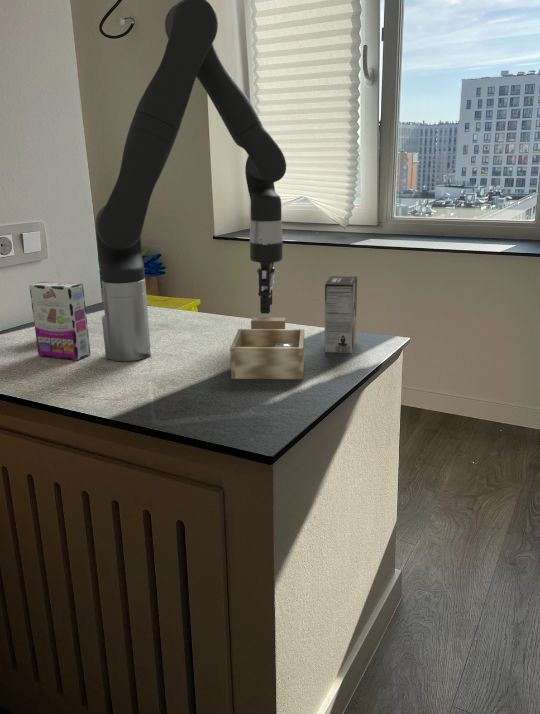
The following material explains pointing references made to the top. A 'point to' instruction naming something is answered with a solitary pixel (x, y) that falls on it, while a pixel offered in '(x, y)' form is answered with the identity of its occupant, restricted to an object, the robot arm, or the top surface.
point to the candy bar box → (60, 320)
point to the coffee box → (340, 314)
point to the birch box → (267, 354)
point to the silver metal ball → (284, 344)
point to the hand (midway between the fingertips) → (266, 308)
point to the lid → (268, 323)
